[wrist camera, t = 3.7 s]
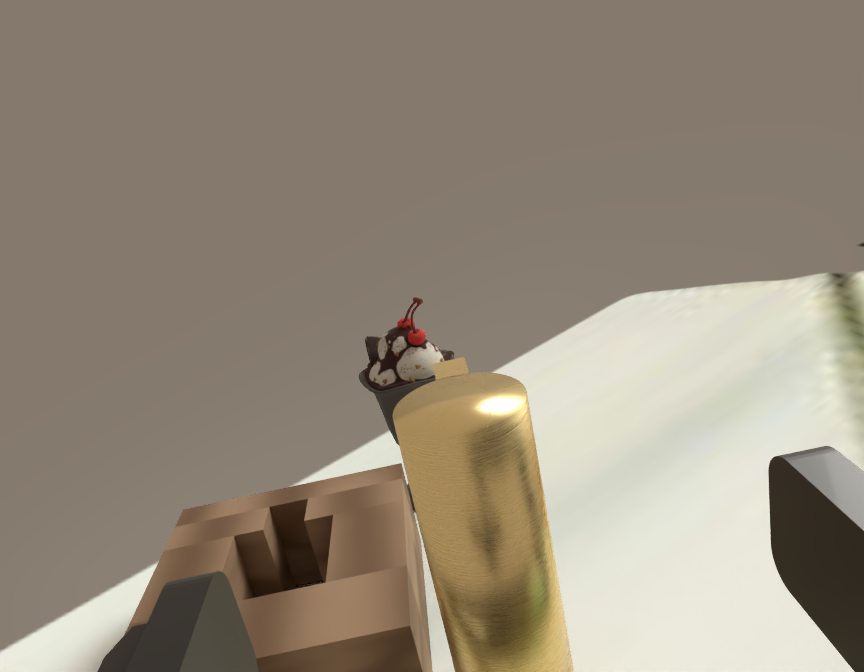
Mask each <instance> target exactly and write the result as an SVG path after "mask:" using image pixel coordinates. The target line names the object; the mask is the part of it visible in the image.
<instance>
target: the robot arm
mask: <svg viewBox="0 0 864 672" xmlns="http://www.w3.org/2000/svg"><path fill="white" fill-rule="evenodd" d="M769 499H770V528H771V548H772V554H773V558H774V561H775V565H776V567H777V570H778V572H779V575H780V577H781V579H782V581H783V583H784V584H785V586H786V587H787V589H788V590H789V592H790V593H791V594H792V595H793V597H794V598H795V599H796V600H797V601H798V603H799V604H800V605H801V606H802V608H803V609H804V610H805V611H806V612H807V614H808V615H809V616H810V617H811V619H812V620H813V621H814V622H815V624H816V625H817V626H818V627H819V628H820V630H821V631H822V632H823V633H824V635H825V636H826V637H827V638H828V639H829V641H830V642H831V643H832V644H833V646H834V647H835V648H836V649H837V650H838V652H839V653H840V654H841V655H842V657H843V658H844V659H845V660H846V662H847V663H848V664H849V665H850V666H851V668H852V669H853V670H854V671H855V672H864V471H862V470H861V469H860V468H859V467H857V466H856V465H855V464H853V463H852V462H851V461H850V460H848V459H847V458H846V457H845V456H843V455H842V454H841V453H840V452H838V451H837V450H835V449H834V448H832V447H829V446H824V447H819V448H814V449H809V450H805V451H800V452H795V453H790V454H785V455H781V456H776V457H774V458H772V460H771V461H770V464H769ZM98 672H258V665H257V660H256V655H255V652H254V649H253V646H252V643H251V640H250V638H249V635H248V632H247V629H246V627H245V624H244V621H243V618H242V616H241V613H240V610H239V607H238V605H237V602H236V599H235V596H234V594H233V591H232V588H231V585H230V583H229V581H228V579H227V577H226V575H225V574H224V573H223V572H221V571H217V572H212V573H207V574H202V575H197V576H193V577H188V578H183V579H178V580H173V581H169V582H167V583H166V584H165V585H164V587H163V589H162V591H161V593H160V595H159V597H158V600H157V602H156V604H155V606H154V609H153V611H152V613H151V616H150V618H149V620H148V622H147V623H146V624H141V625H136V626H133V627H132V628H131V629H130V630H129V631H128V632H127V633H126V634H125V635H124V637H123V638H122V639H121V640H120V641H119V642H118V643H117V644H116V645H115V647H114V648H113V649H112V650H111V651H110V652H109V653H108V654H107V655H106V656H105V658H104V659H103V662H102V664H101V666H100V668H99V670H98Z"/></svg>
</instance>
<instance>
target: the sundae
mask: <svg viewBox="0 0 864 672" xmlns="http://www.w3.org/2000/svg"><path fill="white" fill-rule="evenodd" d="M413 300H414V302H413V304H412V305H411V306H410V308H409V309H408V311H407V314H406V316H405V318H403V319H401V320H400V321H398V327H395V328H393V329H391V330H389V331H388V332H386V333H385V334H384V336H383V337H382V338H381V337H366V338H365V342H366V347H367V352H368V356H369V360H370V363H369V364H368V368H366V369H365V370H363V371H362V372H361V373H360V374H359V379H360V382H361V383H362V384H363V385H364V386H365V387H366V388H367V389H369V390H370V391H371V392H373V393H374V394H375V396H376V398H377V400H378V402H379V405H380V407H381V410H382V412H383V415H384V417H385V420H386V422H387V425H388V427H389V430H390V431H391V433H392V435H393V437H394V439H395V441H396V443H397V444H398V445H399V442H398V438H397V434H396V430H395V426H394V422H393V411H394V408H395V407H396V405H397V404H398V403H399V401H400V400H401V399H403V398H404V397H405V396H406V395H407V394H409V393H410V392H412V391H414V390H415V389H417V388H419V387H421V386H423V385H425V384H428V383H430V382H433V381H436V378H435V373H434V368H433V364H434V363H438V362H443V361H448V360H452V359H454V352H452V351H447V350H440V349H438V348H437V347H436V346H435V345H434V344H432V343H431V342H429V341H428V340H426V335H425V332H424V331H423V330H420V329H415V326H414V325H415V324H414V321H413V314H414V311H415V310H416V308H417V307H418V306H419V305H420V304H421V303H422V302H423V300H422V299H419V298H416V297H414V298H413ZM416 302H417V306H416V307H415V308H414V309H413V311H412V314H411V319H410V318H408V314H409V312H410V309H411V308H412V306H413V305H414V304H415V303H416ZM407 488H408V492H409V496H410V500H411V504H412V508H413V509H415V507H414V503H413V498H412V494H411V490H410V486H409V484H408V485H407Z"/></svg>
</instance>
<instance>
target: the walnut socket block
mask: <svg viewBox="0 0 864 672" xmlns="http://www.w3.org/2000/svg"><path fill="white" fill-rule="evenodd" d="M217 571H221V572H223V573H224V574H225V575H226V577H227V579H228V581H229V583H230V585H231V588H232V591H233V594H234V596H235V599H236V602H237V605H238V607H239V610H240V613H241V616H242V618H243V621H244V624H245V627H246V629H247V632H248V635H249V638H250V640H251V643H252V646H253V649H254V652H255V655H256V660H257V665H258V672H432V663H431V651H430V640H429V629H428V618H427V606H426V595H425V584H424V572H423V561H422V550H421V540H420V536H419V532H418V528H417V524H416V520H415V516H414V512H413V508H412V504H411V500H410V496H409V492H408V488H407V484H406V480H405V476H404V472H403V468H402V464H401V463H400V464H396V465H391V466H386V467H382V468H377V469H372V470H368V471H363V472H358V473H354V474H349V475H344V476H340V477H335V478H330V479H326V480H321V481H316V482H312V483H307V484H302V485H298V486H293V487H288V488H284V489H279V490H274V491H269V492H265V493H260V494H255V495H251V496H247V497H242V498H237V499H232V500H227V501H223V502H218V503H213V504H209V505H204V506H200V507H195V508H190V509H185V510H183V512H182V514H181V516H180V518H179V520H178V522H177V525H176V526H175V529H174V531H173V533H172V535H171V537H170V539H169V541H168V543H167V546H166V548H165V550H164V552H163V554H162V556H161V558H160V560H159V563H158V565H157V567H156V569H155V571H154V573H153V575H152V577H151V580H150V582H149V584H148V586H147V588H146V590H145V592H144V595H143V597H142V599H141V601H140V603H139V605H138V607H137V609H136V612H135V614H134V616H133V618H132V620H131V622H130V624H129V627H128V629H127V631H126V633H127V632H128V631H129V630H130V629H131V628H132V627H133V626H136V625H141V624H146V623H147V622H148V620H149V618H150V616H151V613H152V611H153V609H154V606H155V604H156V602H157V600H158V597H159V595H160V593H161V591H162V589H163V587H164V585H165V584H166V583H167V582H169V581H173V580H178V579H183V578H188V577H193V576H197V575H202V574H207V573H212V572H217ZM322 580H323V582H324V583H321V584H316V585H312V586H307V587H302V588H298V589H295V586H298V585H303V584H307V583H312V582H317V581H322ZM126 633H125V634H126Z"/></svg>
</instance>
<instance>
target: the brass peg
mask: <svg viewBox="0 0 864 672" xmlns="http://www.w3.org/2000/svg"><path fill="white" fill-rule="evenodd" d="M433 368H434V373H435V378H436V381H433V382H430V383H428V384H425V385H423V386H421V387H419V388H417V389H415V390H414V391H412V392H410V393H409V394H407V395H406V396H405V397H404V398H403V399H401V400H400V401H399V403H398V404H397V405H396V407H395V408H394V411H393V422H394V426H395V430H396V434H397V438H398V442H399V446H400V450H401V454H402V458H403V462H404V466H405V470H406V474H407V478H408V482H409V486H410V490H411V494H412V498H413V503H414V507H415V511H416V515H417V519H418V523H419V527H420V531H421V535H422V539H423V543H424V547H425V551H426V555H427V559H428V563H429V567H430V571H431V575H432V580H433V584H434V588H435V592H436V596H437V600H438V604H439V608H440V612H441V616H442V620H443V624H444V628H445V632H446V636H447V640H448V644H449V648H450V652H451V656H452V661H453V665H454V669H455V672H574V670H573V664H572V658H571V652H570V646H569V640H568V634H567V628H566V622H565V616H564V610H563V605H562V599H561V593H560V587H559V581H558V575H557V569H556V563H555V557H554V551H553V545H552V540H551V534H550V528H549V522H548V516H547V510H546V504H545V498H544V492H543V486H542V480H541V475H540V469H539V463H538V457H537V451H536V445H535V439H534V433H533V427H532V421H531V415H530V410H529V404H528V398H527V392H526V389H525V387H524V385H523V384H522V383H521V382H519V381H518V380H516V379H514V378H512V377H509V376H506V375H502V374H496V373H469V371H468V368H467V365H466V362H465V358H464V357H462V358H457V359H452V360H448V361H443V362H438V363H434V364H433Z"/></svg>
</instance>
